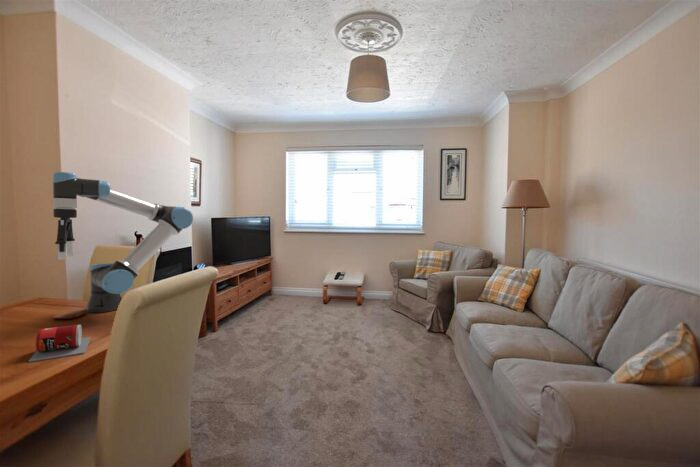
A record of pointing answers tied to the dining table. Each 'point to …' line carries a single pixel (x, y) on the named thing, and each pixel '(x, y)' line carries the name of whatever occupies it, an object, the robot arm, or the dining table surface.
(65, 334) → the canned food
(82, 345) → the rubber mat
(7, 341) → the dining table surface
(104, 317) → the dining table surface
